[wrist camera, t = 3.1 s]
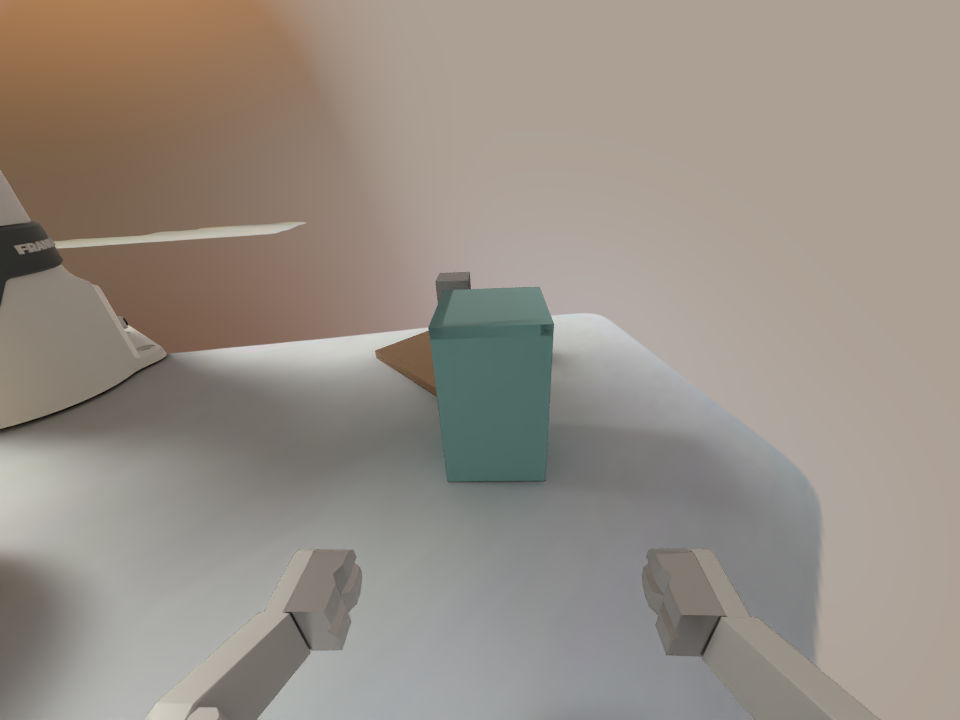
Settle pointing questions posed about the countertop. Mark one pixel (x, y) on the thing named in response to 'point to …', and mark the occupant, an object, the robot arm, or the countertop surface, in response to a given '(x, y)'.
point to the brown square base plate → (421, 341)
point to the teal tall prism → (493, 382)
